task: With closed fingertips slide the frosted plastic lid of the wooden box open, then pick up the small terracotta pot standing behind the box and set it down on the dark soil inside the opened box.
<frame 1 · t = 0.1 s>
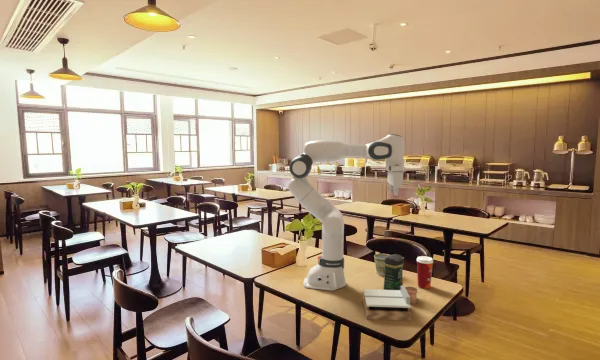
hand: (393, 194, 172), 48 cm above the table, fingers open, 8 cm apart
coffee cup: (423, 286, 175), on the table
lid: (385, 294, 148), point 7 cm above the table, slide at 0.0 cm
terracotta pot: (410, 301, 158), on the table
wooden box: (385, 310, 149), on the table
coffee jar: (393, 292, 168), on the table
ceramic cup: (385, 274, 192), on the table
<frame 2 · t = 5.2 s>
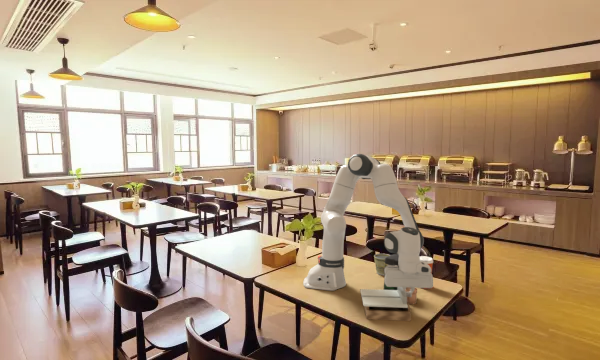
hand: (407, 296, 148), 7 cm above the table, fingers closed
lid: (382, 294, 149), point 7 cm above the table, slide at 1.3 cm, touching gripper
everything else where it was.
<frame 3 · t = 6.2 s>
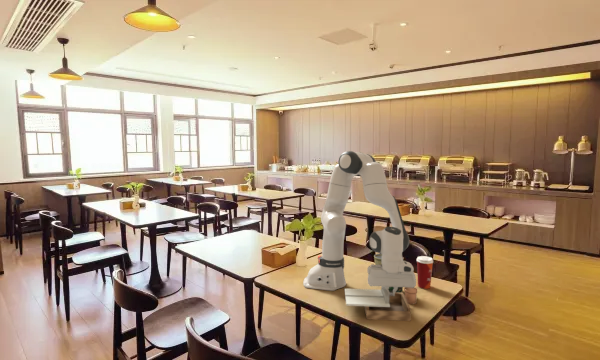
hand: (391, 295, 148), 7 cm above the table, fingers closed
lid: (366, 294, 149), point 7 cm above the table, slide at 8.5 cm, touching gripper
everything else where it was.
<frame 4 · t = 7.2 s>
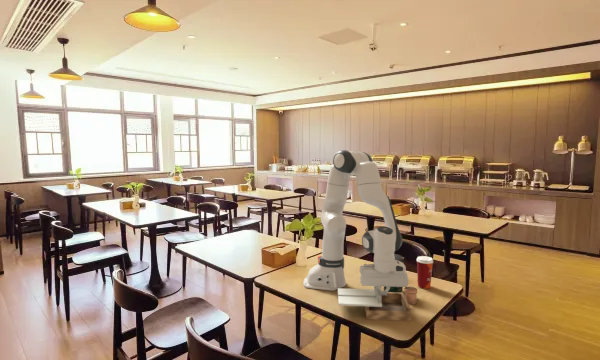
hand: (383, 295, 149), 7 cm above the table, fingers closed
lid: (358, 293, 150), point 7 cm above the table, slide at 11.8 cm, touching gripper
everything else where it was.
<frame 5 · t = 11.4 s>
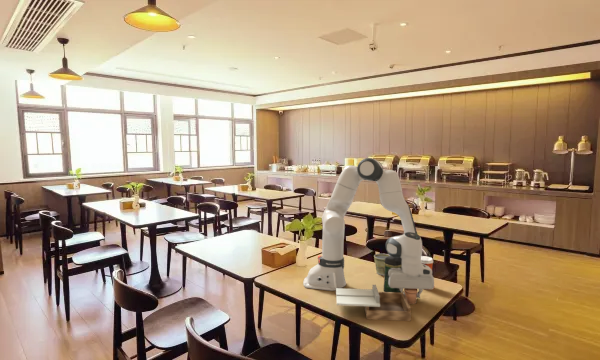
hand: (410, 296, 158), 2 cm above the table, fingers closed on terracotta pot, 5 cm apart
lid: (356, 293, 150), point 7 cm above the table, slide at 12.6 cm
terracotta pot: (410, 301, 158), on the table, touching gripper
everything else where it was.
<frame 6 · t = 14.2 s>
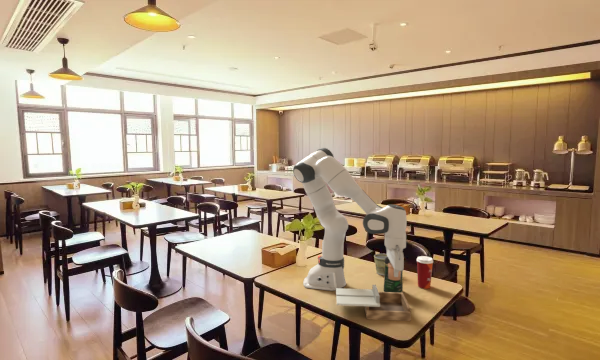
hand: (394, 273, 147), 17 cm above the table, fingers closed on terracotta pot, 5 cm apart
terracotta pot: (394, 278, 147), point 15 cm above the table, touching gripper
everything else where it was.
when the fingers open (4 cm above the table, at t = 17.0 s): terracotta pot drops 2 cm, resting on wooden box.
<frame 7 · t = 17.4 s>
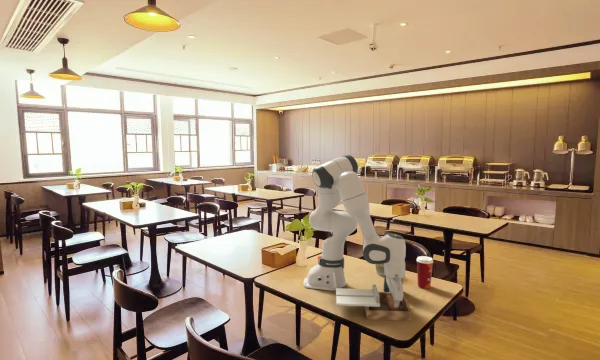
hand: (393, 301, 148), 4 cm above the table, fingers open, 8 cm apart
terracotta pot: (393, 309, 149), point 1 cm above the table, touching wooden box
everything else where it was.
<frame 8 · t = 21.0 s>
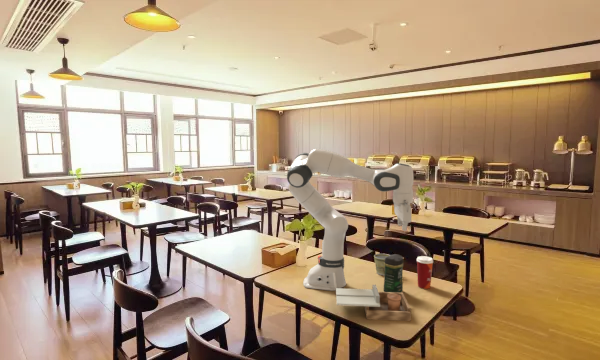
hand: (402, 227, 158), 34 cm above the table, fingers open, 8 cm apart
nothing on the table moved.
at the end: lid slide at 12.6 cm; terracotta pot inside the target area on the wooden box (3.6 cm from its centre), point 0.6 cm above the wooden box's base; terracotta pot tilted 1° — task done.
